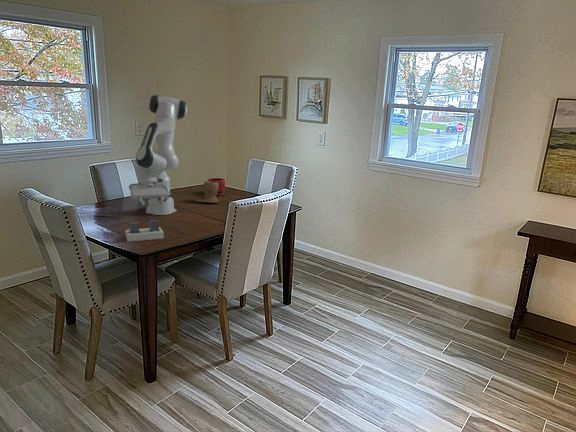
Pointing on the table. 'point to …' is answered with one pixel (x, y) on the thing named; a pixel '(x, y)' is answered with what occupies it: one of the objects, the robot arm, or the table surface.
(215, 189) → the tan boot
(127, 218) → the table surface
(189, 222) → the table surface
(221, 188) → the plant pot
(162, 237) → the power strip
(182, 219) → the table surface
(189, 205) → the table surface
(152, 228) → the plug
